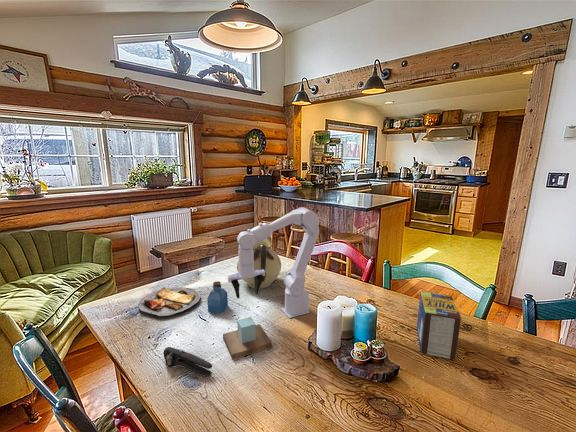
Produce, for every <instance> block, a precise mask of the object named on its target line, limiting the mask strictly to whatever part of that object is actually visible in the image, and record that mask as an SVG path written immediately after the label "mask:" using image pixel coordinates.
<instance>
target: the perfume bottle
mask: <svg viewBox="0 0 576 432" xmlns="http://www.w3.org/2000/svg"><path fill="white" fill-rule="evenodd" d="M221 283H222V282H221V281H214V282H213V283H212V284H213V285H212V290H211V291H210V293H209V294H208V297H206V298H207V313H214V314H223V313H224V312H225V310H226V309H227V308H228V307H229V302H228V301H229V299H228V298H229V297H228V292H227V291H226V289H224V288H223V287H222V284H221Z"/></svg>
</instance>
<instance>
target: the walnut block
mask: <svg viewBox="0 0 576 432" xmlns="http://www.w3.org/2000/svg"><path fill="white" fill-rule="evenodd" d="M222 339H223V342H224V344H225V346H226V349H227V352H228V354H229V356H230V359H231V360H232V361H233V360H236V359H238V358H239V359H240V358H242V357H245V356H249V355H251V354H256V353H257V352H261V351H265V350H267V349H270V348H272V347H273V341H272V339H271V338H270V337H269V336H268V334H267V332H265V330H264V328H263V327H262V326H261V324H260V323H257V324H256V340H253V341H250V342H246V343H243V344H242V343H241V341H240V339H239V337H238V329H236V330H232V331H229V332H225V333H223V334H222Z"/></svg>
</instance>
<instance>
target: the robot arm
mask: <svg viewBox="0 0 576 432" xmlns="http://www.w3.org/2000/svg"><path fill="white" fill-rule="evenodd" d="M319 221H320V218H319V216H318V215H317V213H316V212H314V211H313V210H310V209H308V208H306V207H304V206H301V207H298V208H297V209H293V210H291V211H290V212H288V213H286V214H285V215H283V216H281V217H279V218H277V219H276V220H273V221H272V222H270V223H268V222H263V223H262V222H259V223H258V225H257V226H254V227H252V228H251V229H250V228H247V230H244V231H241V232H239V234H238V235H237V237H236V242H237V243H238V251H237V255H238V260H239V273H238V272H236V273H233V274H230V275H227V282H228V283H231V285H232V288H233V289H234V293H235V296H236V298H237V299H240V282H239V281H240V280H243V279H247V278H252V277H254V282H255V288H254V293H255V294H256V295H258V294H259V293H260V292H259V291H260V289H261V288H260V285H261V283H262V281H263V277H262V276H265V271H264V270H254V251H253V246H254V245H255V243H258V242H260V241H262V240H264V239H266V238H268V237H271V236H272V235H273V232H275V231H277V230H280V229H282V228H284V227H287V226H290V225H298V226H302V228H303V230H304V235H303V238H302V241H301V244H300V246H299V248H298V252H297V255H296V258H295V260H294V263H293V266H292V267H291V268H290V269H288V272H287V273H286V274H285V275H284V277H283V284H284V286H285V289H284V306H283V307H281V310H282V312H283V313H284V314H285V315H286V317H287V318H289V319H292V318H294V317H295V318H296V317H300V316H303V315H306V314H309V313H310V311H309V293H308V292H307V290H306V289H305V282H306V273H305V272H306V270H307V268H308V265H309V262H310V260H311V256H312V254H313V251H314V249H315V246H316V244H317V241H318V238H319V235H320V226H319V225H320V224H319Z"/></svg>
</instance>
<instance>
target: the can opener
mask: <svg viewBox="0 0 576 432" xmlns="http://www.w3.org/2000/svg"><path fill="white" fill-rule="evenodd" d="M163 359H164V360H165V361H164V362H165V366H166V367H167V368H174V367H183V368H185V369H186V370H189V371H191V372H193V373H195V374H198V375H201V376H204V377H209V376H211V375H212V371H211V370H210V369H212V368H213V364H212V363H211V362H209V361H207V360H205V359H203V358H201V357H199V356H197V355H195V354H194V353H193V354H192V353H190V352H187V351H184V349H178V348H174V347H171V346H166V347H165V349H163Z"/></svg>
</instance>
